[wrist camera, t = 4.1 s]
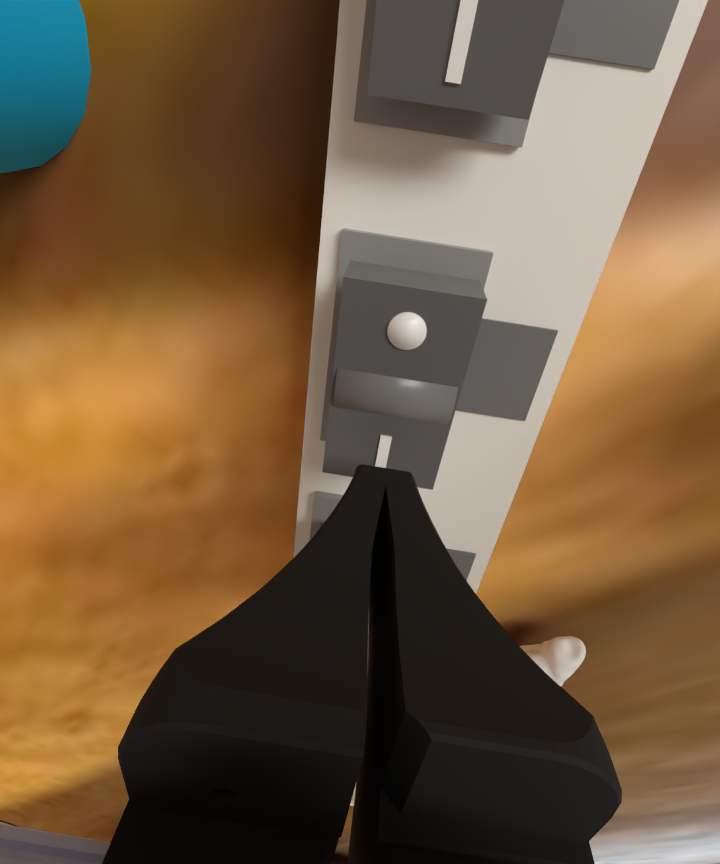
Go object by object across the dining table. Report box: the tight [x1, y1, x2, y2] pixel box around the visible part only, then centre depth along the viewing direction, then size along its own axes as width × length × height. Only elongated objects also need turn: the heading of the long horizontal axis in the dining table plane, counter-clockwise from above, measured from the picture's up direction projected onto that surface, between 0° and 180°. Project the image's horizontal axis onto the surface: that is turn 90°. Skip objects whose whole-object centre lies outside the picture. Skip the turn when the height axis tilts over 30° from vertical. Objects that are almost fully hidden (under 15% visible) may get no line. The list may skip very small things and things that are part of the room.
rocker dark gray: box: [322, 260, 487, 490], centre depth 13 cm, size 3×6×2 cm, turn 172°
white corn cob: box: [350, 636, 586, 806], centre depth 29 cm, size 5×20×5 cm, turn 148°
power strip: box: [293, 0, 708, 594], centre depth 15 cm, size 8×34×5 cm, turn 172°
